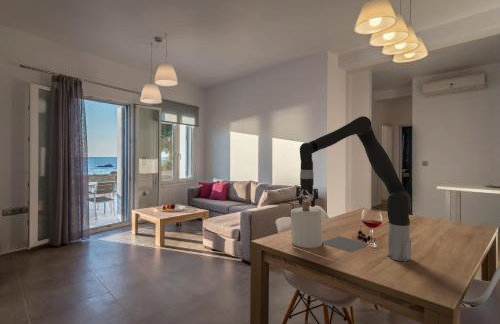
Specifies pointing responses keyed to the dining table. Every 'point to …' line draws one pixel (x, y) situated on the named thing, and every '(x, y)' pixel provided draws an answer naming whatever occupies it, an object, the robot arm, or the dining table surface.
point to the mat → (345, 244)
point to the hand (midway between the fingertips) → (306, 205)
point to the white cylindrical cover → (306, 226)
